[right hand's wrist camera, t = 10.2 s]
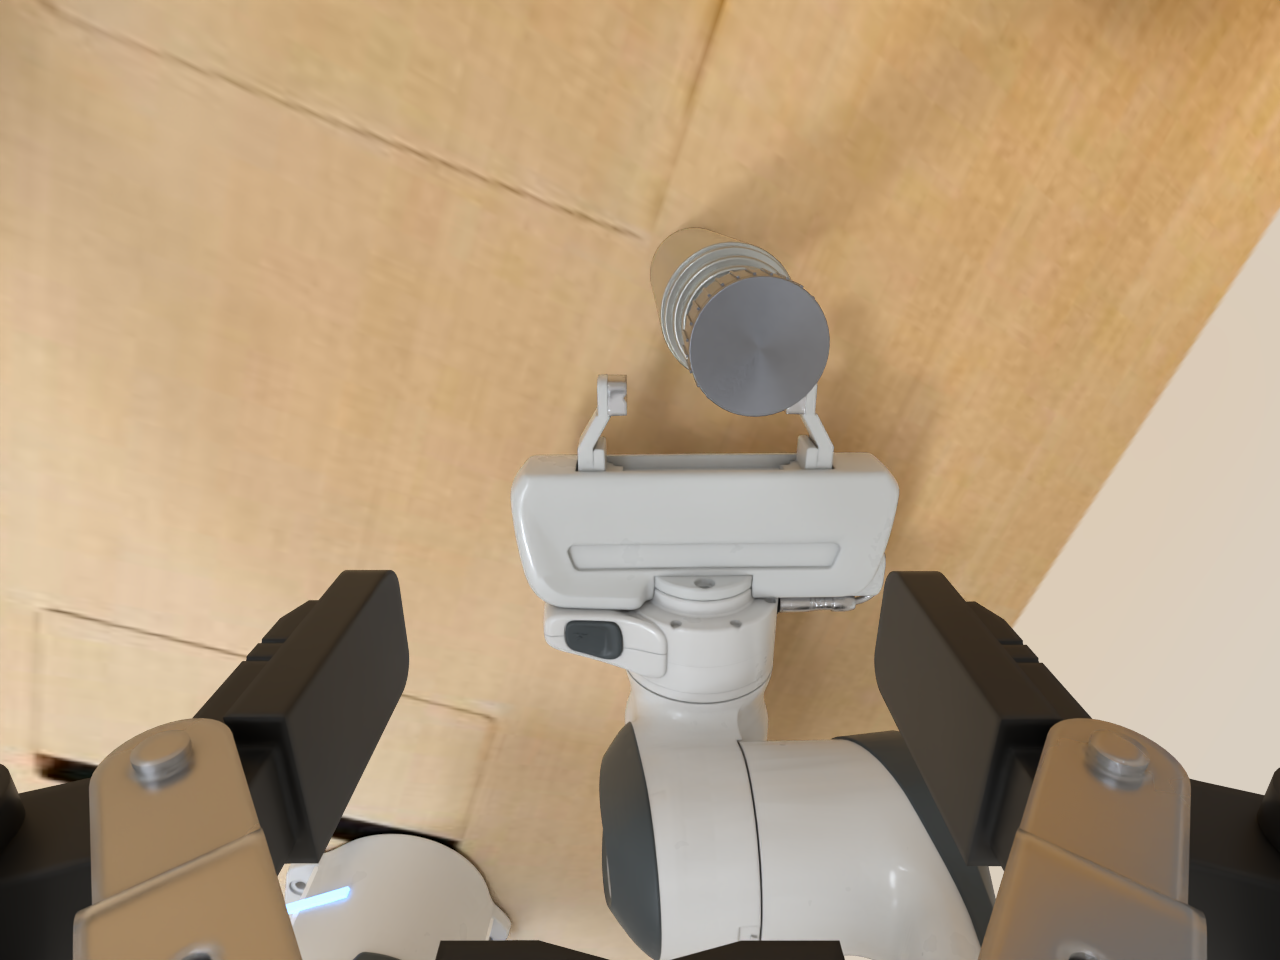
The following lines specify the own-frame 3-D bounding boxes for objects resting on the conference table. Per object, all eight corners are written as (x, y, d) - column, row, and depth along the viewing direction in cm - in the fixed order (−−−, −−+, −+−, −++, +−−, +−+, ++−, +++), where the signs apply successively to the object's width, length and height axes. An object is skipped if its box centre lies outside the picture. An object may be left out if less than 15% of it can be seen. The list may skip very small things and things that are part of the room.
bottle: (656, 323, 41) (679, 442, 20) (644, 234, 39) (656, 268, 19) (740, 310, 41) (849, 418, 20) (732, 221, 39) (842, 239, 18)
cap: (690, 408, 22) (695, 427, 20) (673, 278, 20) (678, 285, 18) (816, 390, 22) (834, 407, 20) (809, 257, 20) (828, 263, 18)
